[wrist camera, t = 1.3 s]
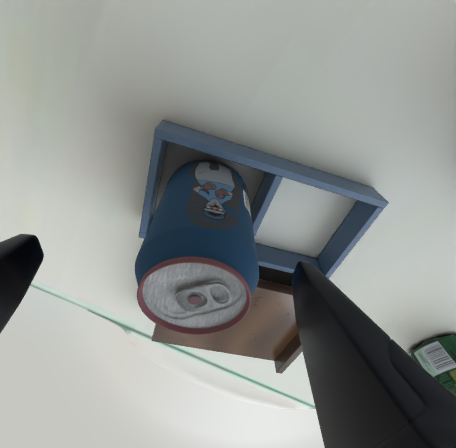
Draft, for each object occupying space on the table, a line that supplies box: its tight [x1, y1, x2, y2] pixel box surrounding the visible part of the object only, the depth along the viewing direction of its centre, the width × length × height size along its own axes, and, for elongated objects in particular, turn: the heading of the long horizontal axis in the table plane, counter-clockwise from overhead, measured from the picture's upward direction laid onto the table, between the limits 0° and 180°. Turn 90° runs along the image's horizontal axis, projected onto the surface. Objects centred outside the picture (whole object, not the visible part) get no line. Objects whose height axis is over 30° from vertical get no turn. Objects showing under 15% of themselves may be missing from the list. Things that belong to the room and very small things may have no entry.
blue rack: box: [139, 120, 389, 279], centre depth 22 cm, size 19×10×3 cm, turn 72°
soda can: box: [135, 160, 259, 335], centre depth 18 cm, size 7×7×12 cm
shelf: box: [152, 279, 302, 373], centre depth 28 cm, size 16×12×6 cm
